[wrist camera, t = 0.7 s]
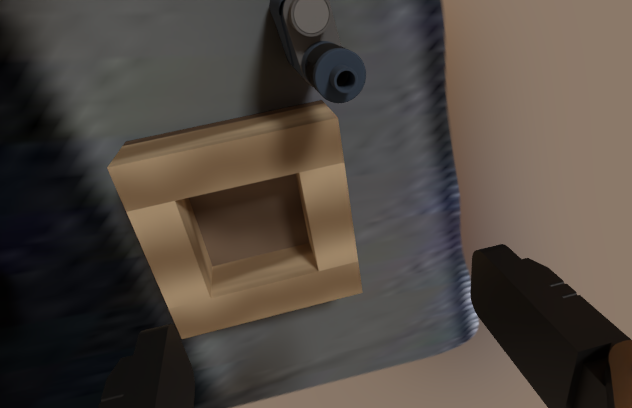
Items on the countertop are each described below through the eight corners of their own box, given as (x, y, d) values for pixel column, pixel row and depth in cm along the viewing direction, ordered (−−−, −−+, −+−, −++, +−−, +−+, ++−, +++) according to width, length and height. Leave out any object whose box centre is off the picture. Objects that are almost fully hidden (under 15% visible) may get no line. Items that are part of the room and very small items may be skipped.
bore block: (125, 141, 29) (107, 167, 24) (321, 100, 30) (337, 117, 26) (187, 296, 35) (181, 339, 31) (346, 257, 36) (362, 292, 32)
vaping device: (290, 74, 29) (326, 118, 18) (263, -7, 26) (286, -11, 16) (325, 61, 29) (380, 98, 18) (301, -21, 26) (349, -33, 16)
